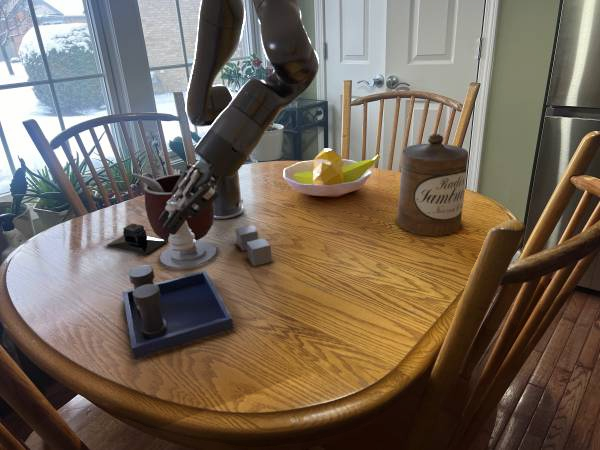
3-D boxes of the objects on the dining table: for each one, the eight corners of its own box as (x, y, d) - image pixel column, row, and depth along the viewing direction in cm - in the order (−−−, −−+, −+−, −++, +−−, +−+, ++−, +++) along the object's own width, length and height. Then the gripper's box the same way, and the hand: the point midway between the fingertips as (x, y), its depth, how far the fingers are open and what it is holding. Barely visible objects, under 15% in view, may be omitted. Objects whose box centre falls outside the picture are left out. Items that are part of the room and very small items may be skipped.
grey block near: (248, 258, 95) (246, 242, 93) (265, 254, 96) (263, 237, 95) (254, 266, 92) (252, 249, 90) (271, 261, 93) (270, 245, 91)
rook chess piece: (171, 241, 74) (163, 197, 71) (198, 238, 75) (191, 195, 71) (166, 253, 70) (157, 207, 67) (194, 250, 70) (186, 204, 67)
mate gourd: (220, 238, 104) (209, 157, 96) (220, 267, 92) (208, 176, 84) (153, 246, 102) (136, 163, 94) (144, 276, 90) (124, 184, 82)
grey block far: (236, 244, 102) (235, 228, 100) (253, 240, 103) (251, 224, 101) (242, 251, 98) (240, 235, 97) (259, 246, 100) (257, 231, 98)
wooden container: (423, 241, 98) (431, 145, 89) (385, 218, 111) (389, 132, 102) (474, 228, 104) (486, 136, 95) (432, 207, 116) (440, 124, 107)
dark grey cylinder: (141, 328, 73) (131, 287, 70) (165, 321, 74) (157, 281, 71) (144, 342, 70) (133, 300, 66) (169, 334, 71) (160, 293, 68)
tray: (125, 303, 81) (122, 291, 80) (207, 281, 87) (206, 270, 86) (135, 362, 66) (131, 348, 65) (233, 331, 72) (232, 318, 71)
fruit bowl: (266, 196, 130) (262, 159, 125) (315, 171, 150) (314, 138, 145) (348, 214, 115) (348, 172, 110) (391, 183, 135) (393, 147, 130)
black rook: (136, 307, 79) (127, 268, 75) (159, 301, 80) (151, 263, 77) (139, 319, 75) (129, 279, 72) (162, 312, 77) (154, 273, 74)
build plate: (167, 242, 104) (164, 224, 102) (146, 256, 98) (142, 237, 96) (128, 234, 109) (124, 217, 107) (105, 247, 103) (101, 229, 101)
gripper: (201, 119, 73) (140, 201, 74) (224, 135, 61) (151, 232, 62) (235, 146, 77) (177, 223, 78) (262, 165, 66) (194, 256, 66)
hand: (166, 226), depth 70 cm, fingers closed on rook chess piece, 3 cm apart
